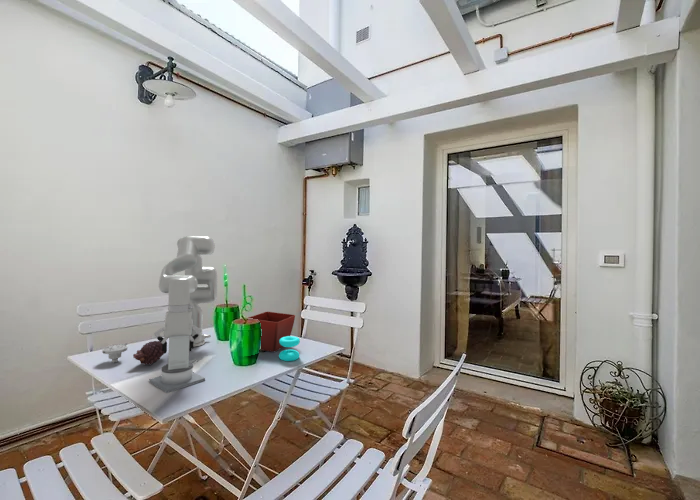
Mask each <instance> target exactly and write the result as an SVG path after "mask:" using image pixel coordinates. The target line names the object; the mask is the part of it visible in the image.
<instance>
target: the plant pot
mask: <svg viewBox="0 0 700 500" xmlns="http://www.w3.org/2000/svg"><path fill="white" fill-rule="evenodd" d="M247 318H253V319H258V320H259V321H260V323H261V329H262V336H261V350H260V351H267V352H273V353H274V352H277V351H279V350H281V349H283V348H285V347H284V346H282V345H280V343H279V340H280V339H281V338H282V337H286V336H292V332H293V328H294V324H295V319H296V315H295V314H289V313H282V312H273V311H265V312H261V313H258V314H255V315H252V316H249V317H247Z"/></svg>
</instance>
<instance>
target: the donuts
mask: <svg viewBox="0 0 700 500" xmlns="http://www.w3.org/2000/svg"><path fill="white" fill-rule="evenodd" d="M300 342H301V340H300V337H297V336H292V335H290V336H286V337H282V338H281V339H280V340H279V343H280V345H282V346H284V347H283V348H288V349H284V350H281V351H280V352H279V353H278V357H279V359H280V360H281V361H285V362H292V361H296V360H298V359H299V358H300V352H299V351H297V350H296V349H290V348H292V347H297V346H298V345H299V344H300Z"/></svg>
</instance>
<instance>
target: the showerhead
mask: <svg viewBox="0 0 700 500" xmlns="http://www.w3.org/2000/svg"><path fill="white" fill-rule="evenodd" d="M126 351H128V342H127V343H124V344H115V345H114V344H113V345H107V346H105V347H104V348H103V349H102V351H101V352H102V353H103V354H104V355H108V359H109V360H111V363H117V362H118V360H119V358H121V357H122V353H125V352H126Z"/></svg>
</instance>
